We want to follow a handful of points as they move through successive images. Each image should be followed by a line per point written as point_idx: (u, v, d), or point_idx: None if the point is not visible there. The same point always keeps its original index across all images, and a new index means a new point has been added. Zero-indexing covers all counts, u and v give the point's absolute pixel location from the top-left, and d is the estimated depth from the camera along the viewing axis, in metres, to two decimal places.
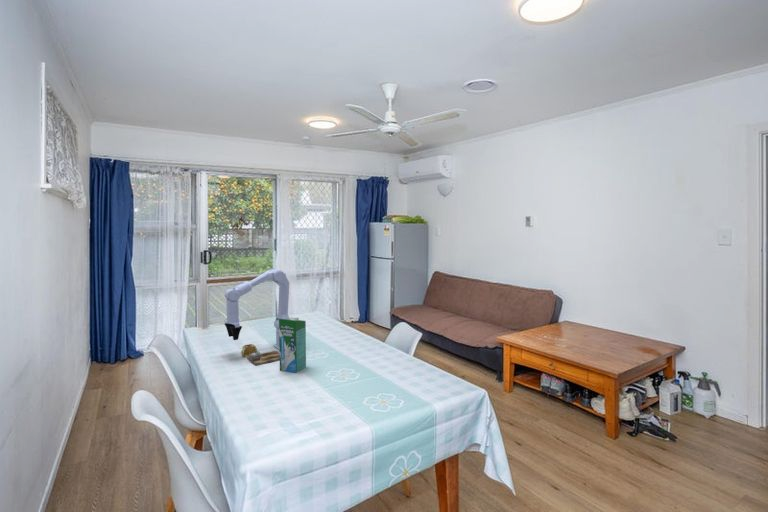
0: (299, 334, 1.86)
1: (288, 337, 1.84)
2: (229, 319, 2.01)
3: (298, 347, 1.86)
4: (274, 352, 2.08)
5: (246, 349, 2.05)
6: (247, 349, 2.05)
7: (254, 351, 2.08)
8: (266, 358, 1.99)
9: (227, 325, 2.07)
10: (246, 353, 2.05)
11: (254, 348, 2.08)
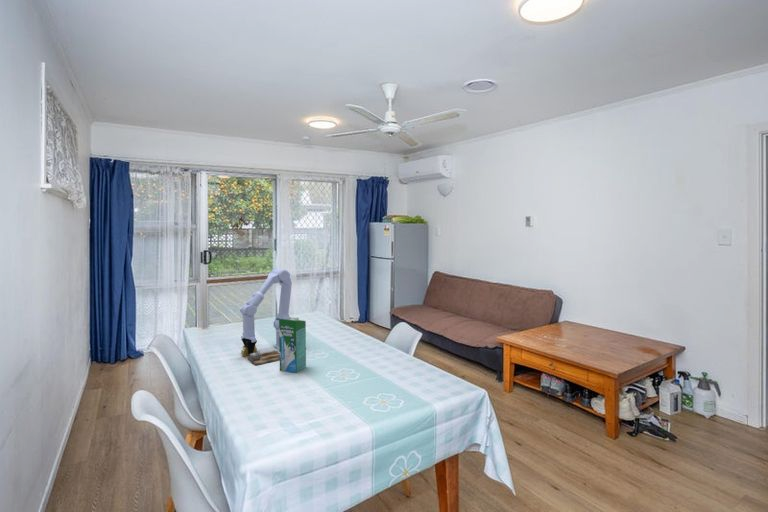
0: (299, 334, 1.86)
1: (288, 337, 1.84)
2: (246, 333, 2.04)
3: (298, 347, 1.86)
4: (274, 352, 2.08)
5: (246, 349, 2.05)
6: (247, 349, 2.05)
7: (254, 351, 2.08)
8: (266, 358, 1.99)
9: (244, 340, 2.08)
10: (246, 353, 2.05)
11: (254, 348, 2.08)
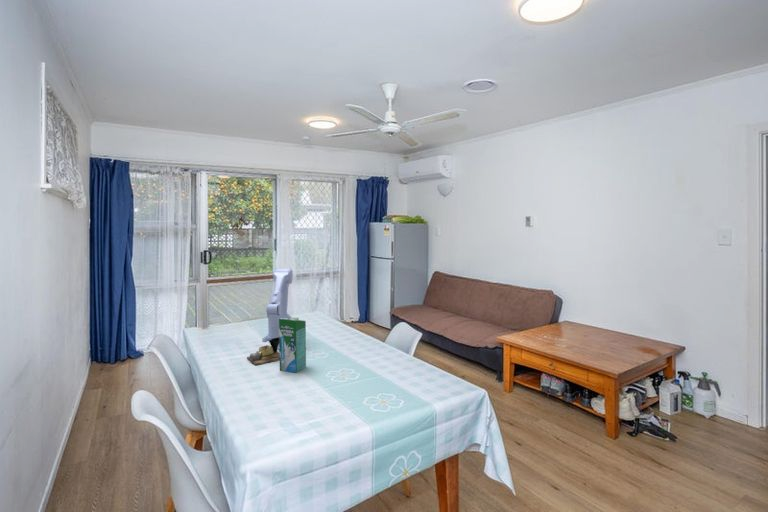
0: (299, 334, 1.86)
1: (288, 337, 1.84)
2: None
3: (298, 347, 1.86)
4: None
5: (263, 350, 2.00)
6: (264, 350, 2.00)
7: (271, 352, 2.02)
8: (266, 358, 1.99)
9: None
10: (263, 355, 2.00)
11: (271, 349, 2.02)
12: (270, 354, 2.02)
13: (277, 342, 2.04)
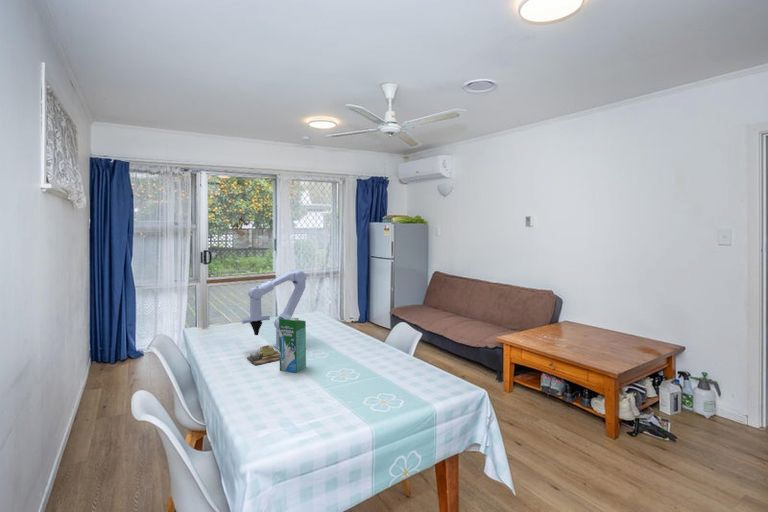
0: (299, 334, 1.86)
1: (288, 337, 1.84)
2: None
3: (298, 347, 1.86)
4: None
5: (264, 350, 2.00)
6: (265, 350, 2.00)
7: (272, 352, 2.02)
8: (266, 358, 1.99)
9: None
10: (264, 355, 2.00)
11: (272, 349, 2.02)
12: (271, 354, 2.02)
13: (258, 325, 2.11)
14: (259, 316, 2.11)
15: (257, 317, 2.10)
